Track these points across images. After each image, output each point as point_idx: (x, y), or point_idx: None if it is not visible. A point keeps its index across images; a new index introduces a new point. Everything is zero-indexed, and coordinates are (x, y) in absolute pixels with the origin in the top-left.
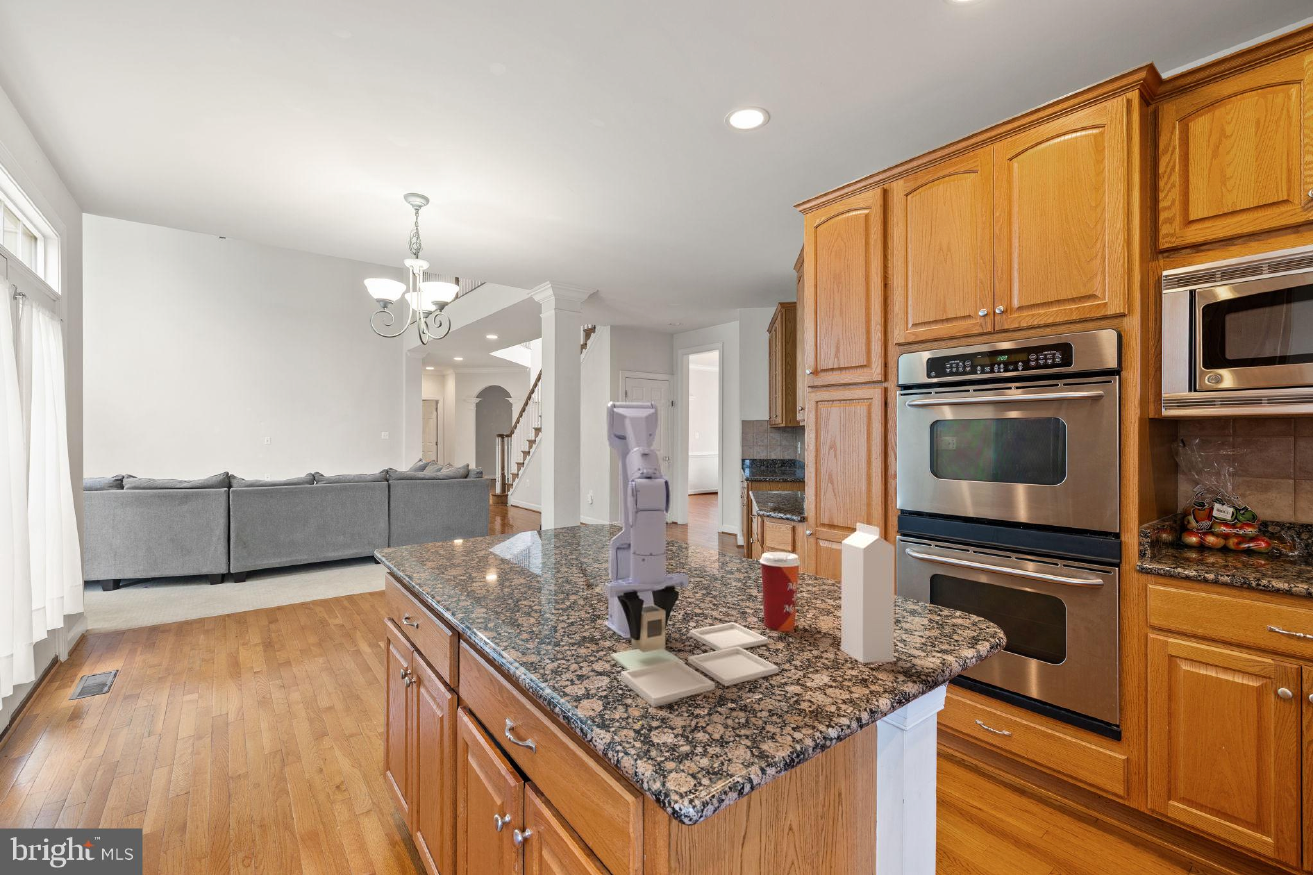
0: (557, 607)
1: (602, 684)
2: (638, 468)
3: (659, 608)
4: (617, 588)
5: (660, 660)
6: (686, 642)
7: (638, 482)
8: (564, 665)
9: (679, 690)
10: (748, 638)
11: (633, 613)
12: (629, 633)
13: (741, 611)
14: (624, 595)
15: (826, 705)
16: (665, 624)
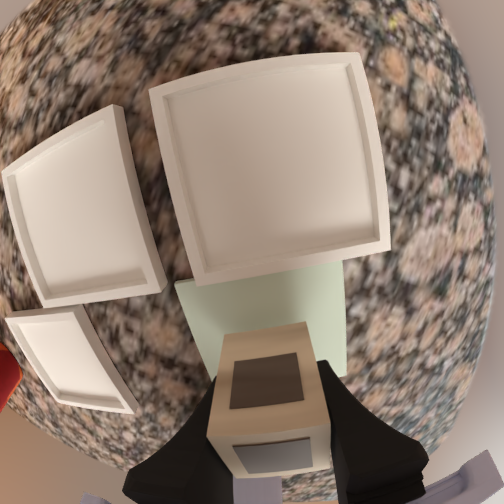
0: (324, 496)
1: (424, 232)
2: None
3: (225, 455)
4: (475, 492)
5: (240, 318)
6: (147, 389)
7: None
8: (438, 343)
9: (271, 66)
10: (35, 346)
11: (380, 421)
12: None
13: (58, 428)
14: (423, 486)
15: (17, 41)
16: (208, 398)
